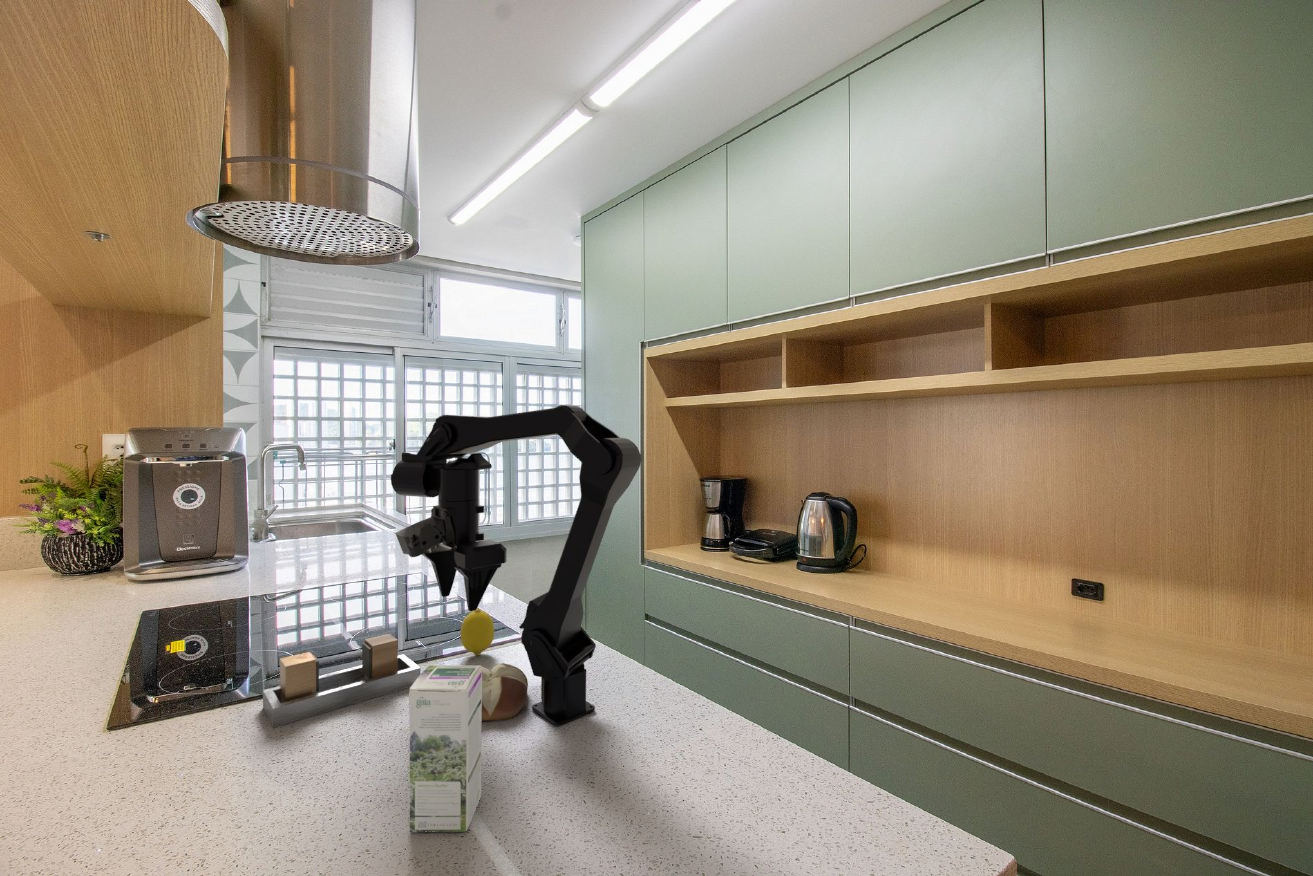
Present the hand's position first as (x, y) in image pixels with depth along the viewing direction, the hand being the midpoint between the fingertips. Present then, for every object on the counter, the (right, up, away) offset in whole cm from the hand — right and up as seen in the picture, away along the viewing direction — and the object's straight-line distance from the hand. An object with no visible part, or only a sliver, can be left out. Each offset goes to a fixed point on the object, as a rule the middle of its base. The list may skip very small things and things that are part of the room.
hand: (458, 603), depth 86 cm
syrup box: (+8, -14, -28) cm, 32 cm away
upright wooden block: (-12, -12, +1) cm, 17 cm away
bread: (+6, -14, -4) cm, 15 cm away
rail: (-16, -13, -2) cm, 20 cm away
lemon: (-1, -13, +13) cm, 18 cm away
